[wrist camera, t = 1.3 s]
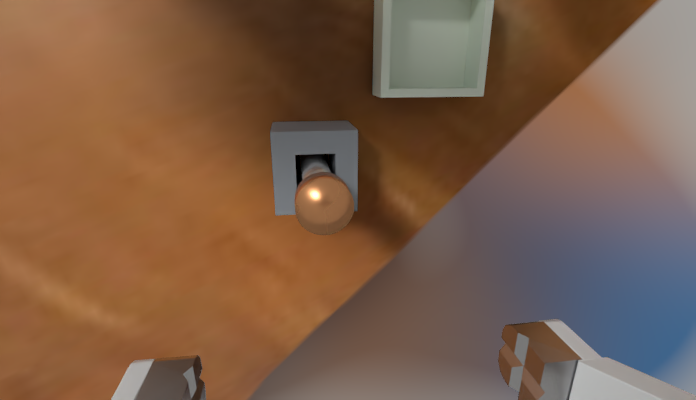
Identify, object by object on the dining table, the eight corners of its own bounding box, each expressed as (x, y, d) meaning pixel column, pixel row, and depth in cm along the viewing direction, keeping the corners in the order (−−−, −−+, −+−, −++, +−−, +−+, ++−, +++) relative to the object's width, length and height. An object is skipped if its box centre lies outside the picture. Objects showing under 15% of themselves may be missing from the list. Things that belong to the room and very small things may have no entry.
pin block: (272, 122, 30) (270, 132, 26) (347, 120, 31) (358, 130, 27) (277, 193, 32) (275, 215, 28) (347, 190, 33) (357, 211, 29)
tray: (374, -18, 28) (383, -27, 26) (477, -15, 29) (497, -24, 27) (372, 94, 31) (380, 97, 28) (466, 93, 32) (483, 96, 29)
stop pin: (291, 139, 31) (293, 180, 20) (330, 138, 32) (354, 178, 20) (293, 177, 32) (296, 236, 21) (331, 175, 33) (354, 233, 21)
